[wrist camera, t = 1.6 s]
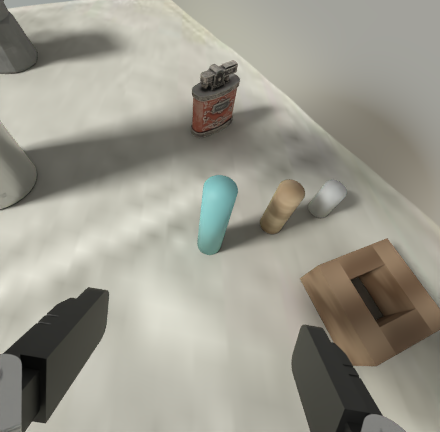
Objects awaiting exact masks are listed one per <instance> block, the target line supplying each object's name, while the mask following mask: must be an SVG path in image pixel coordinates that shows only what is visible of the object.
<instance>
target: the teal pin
mask: <svg viewBox="0 0 440 432" xmlns="http://www.w3.org/2000/svg"><path fill="white" fill-rule="evenodd" d="M237 193H238V188H237V185H236V183H235V182H234V181H233V180H232V179H230V178H229V177H226V176H223V175H216V176H212V177H210V178H209V179H207V180H206V182H205V183H204V187H203V196H202V205H201V215H200V224H199V233H198V243H197V244H198V248H199V250H200V251H201V252H202V253H204V254H207V255H212V254H215V253H217V252H218V251H219V250H220V247H221V244H222V241H223V238H224V235H225V232H226V228H227V225H228V222H229V219H230V216H231V212H232V209H233V206H234V203H235V200H236V197H237Z"/></svg>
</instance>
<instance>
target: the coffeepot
mask: <svg viewBox="0 0 440 432" xmlns="http://www.w3.org/2000/svg"><path fill="white" fill-rule="evenodd" d="M3 1H4V0H0V74H12V73H17V72H21V71H24V70H26V69H28V68H30V67H31V66H33V65H34V64H35V62H36V60H37V51H36V49H35V48H34V46H33V45H32V43H31V42H30V40H29V39H28V37H27V36H26V34H25V33H24V31H23V30H22V28H21V27H20V25H19V24H18V22H17V21H16V19H15V18H14V16H13V15H12V14H11V13H10V12H9V11H8V10H7V8H6V6H5V4H4V2H3Z"/></svg>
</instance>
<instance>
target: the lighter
mask: <svg viewBox="0 0 440 432" xmlns="http://www.w3.org/2000/svg"><path fill="white" fill-rule="evenodd" d="M237 66H238V64H237V62H236V61H234V60H232V61H229V62H227V63H224V64H222V65H220V66H217V65H216V64H213V65H211V66H210V68H209V69H208V70H207V71H205V72H202V73H201V78H200V81H201V82H200V83H199V84H197V85H195V86H194V87H193V88H192V96H193V123H192V126H191V133H192V134H193V135H194V136H195V137H197V138H203V137H206V136H209V135H212V134H214V133H217V132H219V131H220V130H222V129H224V128H225V127H227V126H228V125H229V124H230V123H231V122H232V118H233V116H232V112H233V107H234V101H235V96H236V91H237V87H238V86H239V82H240V79H239V77H238V76H237V75H235V74H233V73H236V72H237Z"/></svg>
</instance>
